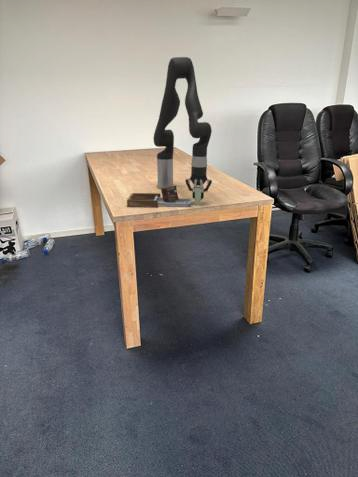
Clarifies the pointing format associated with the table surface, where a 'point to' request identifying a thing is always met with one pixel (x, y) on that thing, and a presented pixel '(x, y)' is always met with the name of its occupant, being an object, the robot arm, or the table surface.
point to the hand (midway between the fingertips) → (197, 199)
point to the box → (169, 193)
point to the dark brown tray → (143, 200)
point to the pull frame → (183, 200)
